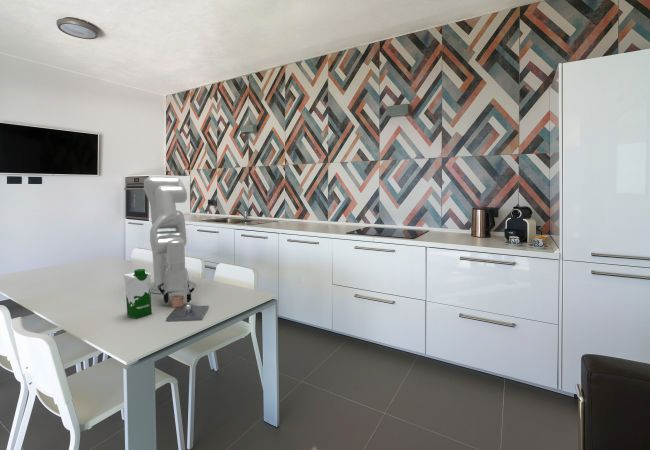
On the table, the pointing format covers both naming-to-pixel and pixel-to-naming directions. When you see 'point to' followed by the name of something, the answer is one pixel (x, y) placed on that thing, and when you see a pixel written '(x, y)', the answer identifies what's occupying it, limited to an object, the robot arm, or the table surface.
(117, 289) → the table surface
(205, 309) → the stud plate
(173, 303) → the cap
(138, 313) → the milk carton
